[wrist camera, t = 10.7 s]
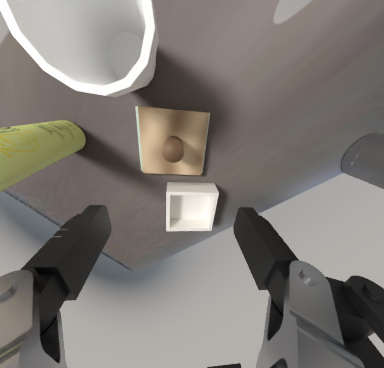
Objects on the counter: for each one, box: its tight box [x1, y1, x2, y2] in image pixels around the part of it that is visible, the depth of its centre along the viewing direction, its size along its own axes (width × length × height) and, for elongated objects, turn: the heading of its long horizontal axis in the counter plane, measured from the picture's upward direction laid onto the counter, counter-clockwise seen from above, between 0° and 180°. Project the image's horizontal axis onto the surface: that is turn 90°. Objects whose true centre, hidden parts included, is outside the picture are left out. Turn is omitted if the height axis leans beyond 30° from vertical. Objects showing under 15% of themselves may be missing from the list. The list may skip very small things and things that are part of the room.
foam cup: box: [0, 0, 159, 97], centre depth 15 cm, size 10×9×13 cm
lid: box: [138, 106, 209, 175], centre depth 23 cm, size 11×11×5 cm
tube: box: [0, 120, 86, 192], centre depth 16 cm, size 6×5×20 cm
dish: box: [166, 182, 219, 231], centre depth 31 cm, size 10×10×4 cm
